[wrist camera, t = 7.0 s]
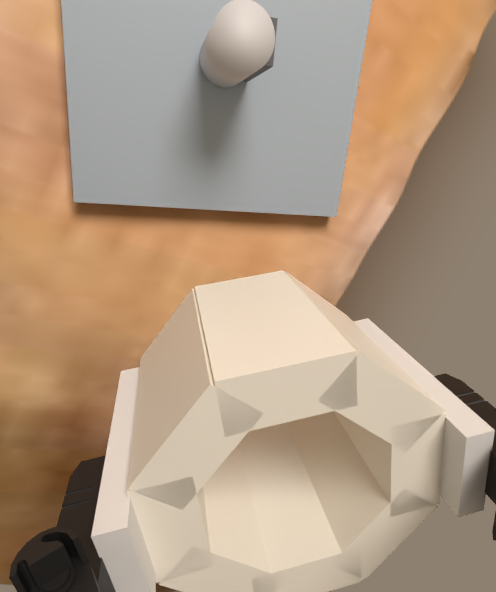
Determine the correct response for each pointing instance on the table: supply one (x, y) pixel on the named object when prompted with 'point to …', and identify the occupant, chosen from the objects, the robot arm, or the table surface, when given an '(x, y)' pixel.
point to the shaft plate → (212, 101)
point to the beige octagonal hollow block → (276, 443)
